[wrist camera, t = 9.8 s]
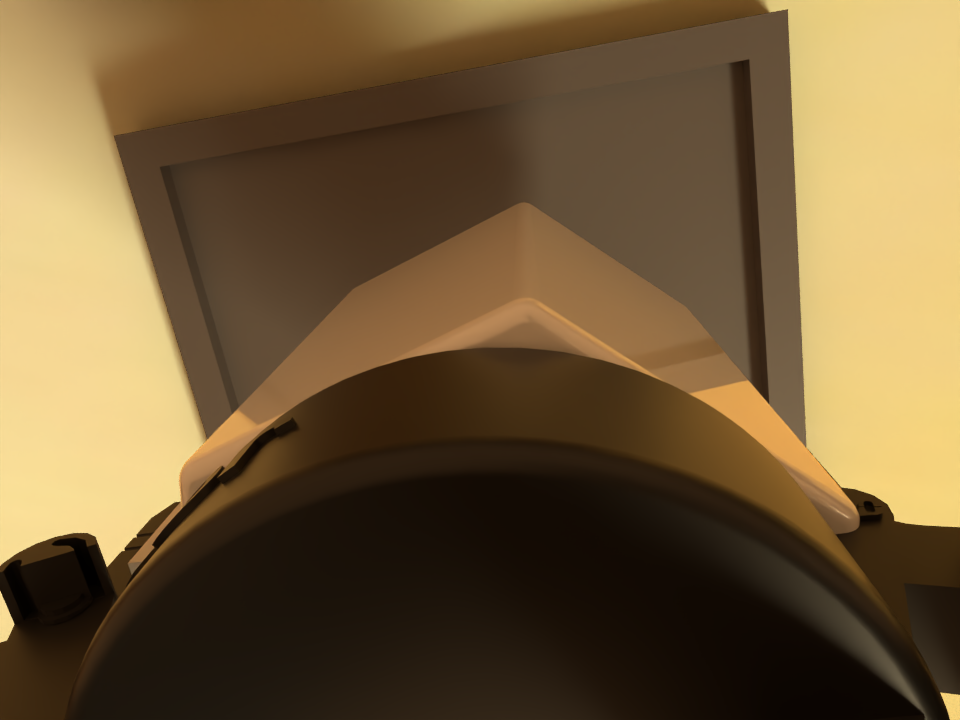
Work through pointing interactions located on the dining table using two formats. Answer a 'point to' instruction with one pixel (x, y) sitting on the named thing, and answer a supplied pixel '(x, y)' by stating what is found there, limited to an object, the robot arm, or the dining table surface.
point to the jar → (505, 522)
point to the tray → (488, 195)
